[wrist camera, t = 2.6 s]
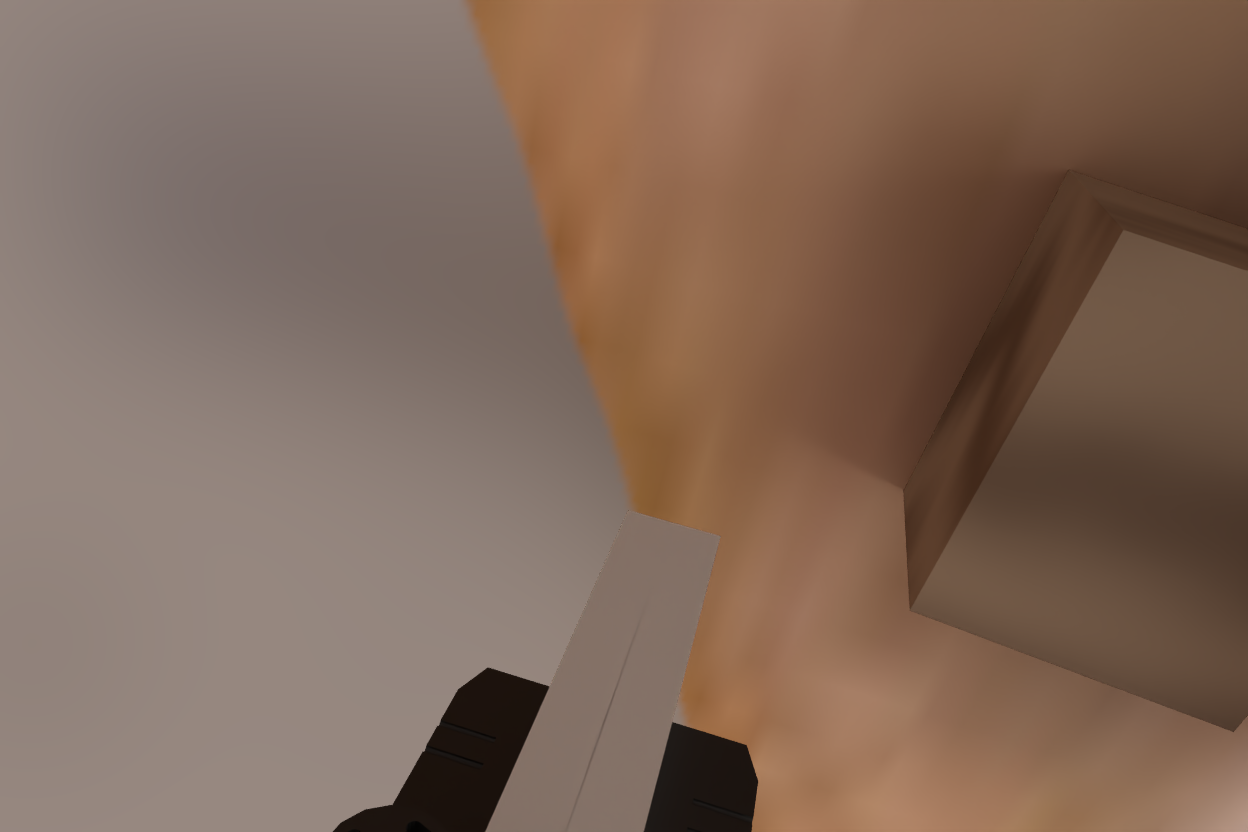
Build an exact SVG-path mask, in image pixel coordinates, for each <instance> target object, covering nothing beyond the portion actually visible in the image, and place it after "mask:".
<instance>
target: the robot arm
mask: <svg viewBox="0 0 1248 832" xmlns="http://www.w3.org/2000/svg"><path fill="white" fill-rule="evenodd" d="M719 540H720V536H718V535H715V534H711V533H708V532H704V531H701V530H697V529H693V528H690V527H686V526H683V525H679V524H676V523H672V522H669V521H665V520H661V519H658V518H654V517H651V516H647V515H644V514H640V513H637V512H633V511H629V510H628V511H627V513H626V516H625V518H624V520H623V523H622V525H621V527H620V529H619V532H618V534H617V536H616V538H615V541H614V543H613V545H612V547H611V550H610V552H609V554H608V557H607V559H606V561H605V563H604V566H603V568H602V570H601V572H600V574H599V577H598V579H597V581H596V583H595V586H594V588H593V590H592V592H591V595H590V597H589V599H588V601H587V604H586V606H585V608H584V610H583V613H582V615H581V617H580V619H579V622H578V624H577V626H576V628H575V631H574V633H573V635H572V637H571V640H570V642H569V645H568V646H567V649H566V651H565V654H564V655H563V658H562V660H561V662H560V665H559V667H558V669H557V671H556V674H555V676H554V678H553V680H552V683H551V685H550V687H549V686H546V685H543V684H540V683H536V682H533V681H530V680H526V679H523V678H520V677H517V676H514V675H511V674H507V673H504V672H501V671H498V670H494V669H491V668H486V669H485V670H484V671H483V672H481V673H480V674H478V675H477V676H476V677H474V678H473V679H472V680H470V681H469V682H468V683H466V684H465V685H463V686H462V687H461V688H459V689H458V691H457V692H456V694H455V696H454V698H453V699H452V701H451V703H450V705H449V707H448V708H447V710H446V712H445V714H444V715H443V717H442V719H441V722H440V725H439V726H437V728H436V729H435V731H434V733H433V735H432V737H431V738H430V740H429V742H428V743H427V746H426V749H425V751H424V752H422V754H421V756H420V758H419V759H418V761H417V763H416V765H415V766H414V768H413V770H412V772H411V773H410V775H409V777H408V779H407V780H406V782H405V784H404V786H403V787H402V789H401V791H400V793H399V795H398V796H397V798H396V800H395V801H394V803H393V805H388V806H383V807H377V808H372V809H366V810H364V811H362V812H360V813H358V814H356V815H354V816H352V817H351V818H349V819H347V820H345V821H343V822H342V823H340V824H339V825H338V827H337V828H336V829H335V830H334V831H333V832H751V830H752V820H753V816H754V808H755V801H756V793H757V786H758V779H757V776H756V773H755V770H754V767H753V764H752V761H751V757H750V754H749V751H748V748H747V745H744V744H741V743H738V742H735V741H732V740H728V739H725V738H722V737H719V736H715V735H712V734H709V733H706V732H702V731H699V730H696V729H693V728H690V727H686V726H683V725H680V724H676V723H673V722H672V721H673V717H674V713H675V709H676V705H677V702H678V698H679V694H680V690H681V686H682V682H683V679H684V675H685V671H686V667H687V663H688V659H689V655H690V652H691V648H692V644H693V640H694V636H695V632H696V629H697V625H698V621H699V617H700V613H701V609H702V606H703V602H704V598H705V594H706V590H707V586H708V582H709V579H710V575H711V571H712V567H713V563H714V559H715V556H716V552H717V548H718V544H719Z"/></svg>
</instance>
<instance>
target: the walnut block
mask: <svg viewBox="0 0 1248 832" xmlns="http://www.w3.org/2000/svg"><path fill="white" fill-rule="evenodd" d="M903 492H904V511H905V530H906V549H907V567H908V586H909V605H910V611H913V612H915V613H918V614H921V615H923V616H926V617H929V618H931V619H934V620H937V621H939V622H942V623H945V624H947V625H950V626H953V627H955V628H958V629H961V630H963V631H966V632H969V633H971V634H974V635H977V636H979V637H982V638H985V639H987V640H990V641H993V642H995V643H998V644H1001V645H1003V646H1006V647H1009V648H1011V649H1014V650H1017V651H1019V652H1022V653H1025V654H1027V655H1030V656H1032V657H1035V658H1038V659H1040V660H1043V661H1046V662H1048V663H1051V664H1054V665H1056V666H1059V667H1062V668H1064V669H1067V670H1070V671H1072V672H1075V673H1078V674H1080V675H1083V676H1086V677H1088V678H1091V679H1094V680H1096V681H1099V682H1102V683H1104V684H1107V685H1110V686H1112V687H1115V688H1118V689H1120V690H1123V691H1126V692H1128V693H1131V694H1134V695H1136V696H1139V697H1142V698H1144V699H1147V700H1150V701H1152V702H1155V703H1158V704H1160V705H1163V706H1166V707H1168V708H1171V709H1174V710H1176V711H1179V712H1182V713H1184V714H1187V715H1190V716H1192V717H1195V718H1198V719H1200V720H1203V721H1206V722H1208V723H1211V724H1214V725H1216V726H1219V727H1222V728H1224V729H1227V730H1230V731H1232V732H1234V731H1235V730H1236V728H1237V727H1238V726H1239V725H1240V724H1241V723H1242V721H1243V720H1244V719H1245V718H1246V717H1247V716H1248V229H1247V228H1244V227H1241V226H1238V225H1235V224H1232V223H1229V222H1226V221H1223V220H1220V219H1217V218H1214V217H1211V216H1208V215H1205V214H1201V213H1198V212H1195V211H1192V210H1189V209H1186V208H1183V207H1180V206H1177V205H1174V204H1171V203H1168V202H1165V201H1162V200H1159V199H1156V198H1153V197H1150V196H1147V195H1144V194H1141V193H1138V192H1135V191H1132V190H1129V189H1125V188H1122V187H1119V186H1116V185H1113V184H1110V183H1107V182H1104V181H1101V180H1098V179H1095V178H1092V177H1089V176H1086V175H1083V174H1080V173H1077V172H1074V171H1071V170H1068V172H1067V174H1066V176H1065V178H1064V180H1063V182H1062V184H1061V186H1060V188H1059V190H1058V191H1057V193H1056V195H1055V197H1054V199H1053V201H1052V203H1051V205H1050V207H1049V209H1048V211H1047V213H1046V215H1045V217H1044V219H1043V221H1042V223H1041V225H1040V226H1039V228H1038V230H1037V232H1036V234H1035V236H1034V238H1033V240H1032V242H1031V244H1030V246H1029V248H1028V250H1027V252H1026V254H1025V256H1024V258H1023V260H1022V261H1021V263H1020V265H1019V267H1018V269H1017V271H1016V273H1015V275H1014V277H1013V279H1012V281H1011V283H1010V285H1009V287H1008V289H1007V291H1006V293H1005V295H1004V296H1003V298H1002V300H1001V302H1000V304H999V306H998V308H997V310H996V312H995V314H994V316H993V318H992V320H991V322H990V324H989V326H988V328H987V330H986V331H985V333H984V335H983V337H982V339H981V341H980V343H979V345H978V347H977V349H976V351H975V353H974V355H973V357H972V359H971V361H970V363H969V365H968V367H967V368H966V370H965V372H964V374H963V376H962V378H961V380H960V382H959V384H958V386H957V388H956V390H955V392H954V394H953V396H952V398H951V400H950V402H949V403H948V405H947V407H946V409H945V411H944V413H943V415H942V417H941V419H940V421H939V423H938V425H937V427H936V429H935V431H934V433H933V435H932V437H931V438H930V440H929V442H928V444H927V446H926V448H925V450H924V452H923V454H922V456H921V458H920V460H919V462H918V464H917V466H916V468H915V470H914V472H913V473H912V475H911V477H910V479H909V481H908V483H907V485H906V487H905V489H904V491H903Z"/></svg>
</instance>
